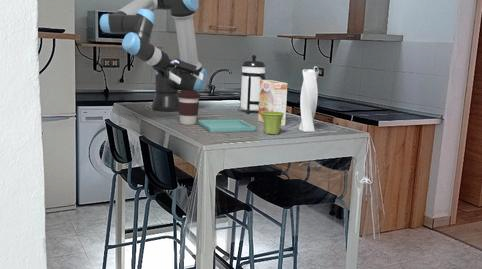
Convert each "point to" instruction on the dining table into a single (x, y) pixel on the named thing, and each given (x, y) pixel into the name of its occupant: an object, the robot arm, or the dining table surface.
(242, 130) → the tray
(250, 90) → the coffee press
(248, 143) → the dining table surface
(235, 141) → the dining table surface
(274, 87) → the coffeecake box
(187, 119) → the coffee cup
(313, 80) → the skyscraper
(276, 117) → the plant pot
